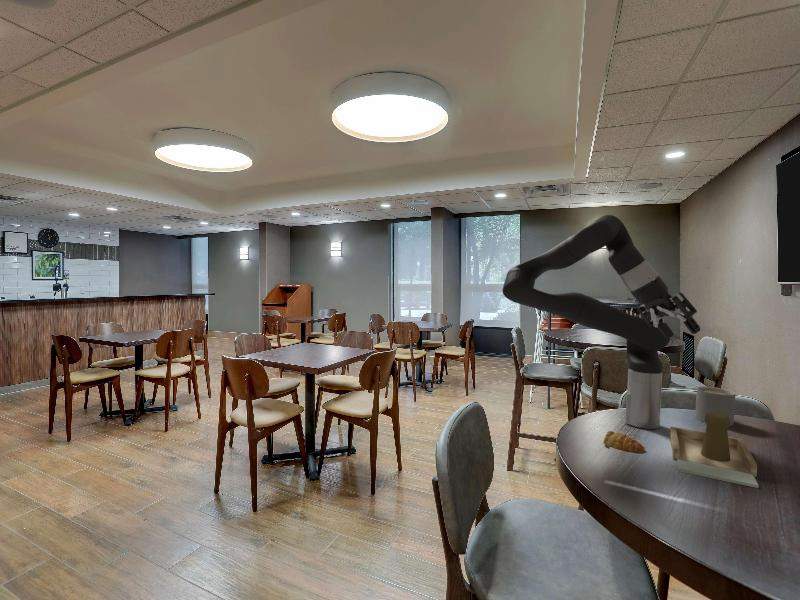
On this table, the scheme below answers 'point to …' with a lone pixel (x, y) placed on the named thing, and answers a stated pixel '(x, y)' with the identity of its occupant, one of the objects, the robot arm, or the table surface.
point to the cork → (716, 437)
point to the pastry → (622, 442)
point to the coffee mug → (714, 402)
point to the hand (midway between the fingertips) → (683, 334)
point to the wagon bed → (689, 449)
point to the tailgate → (717, 473)
